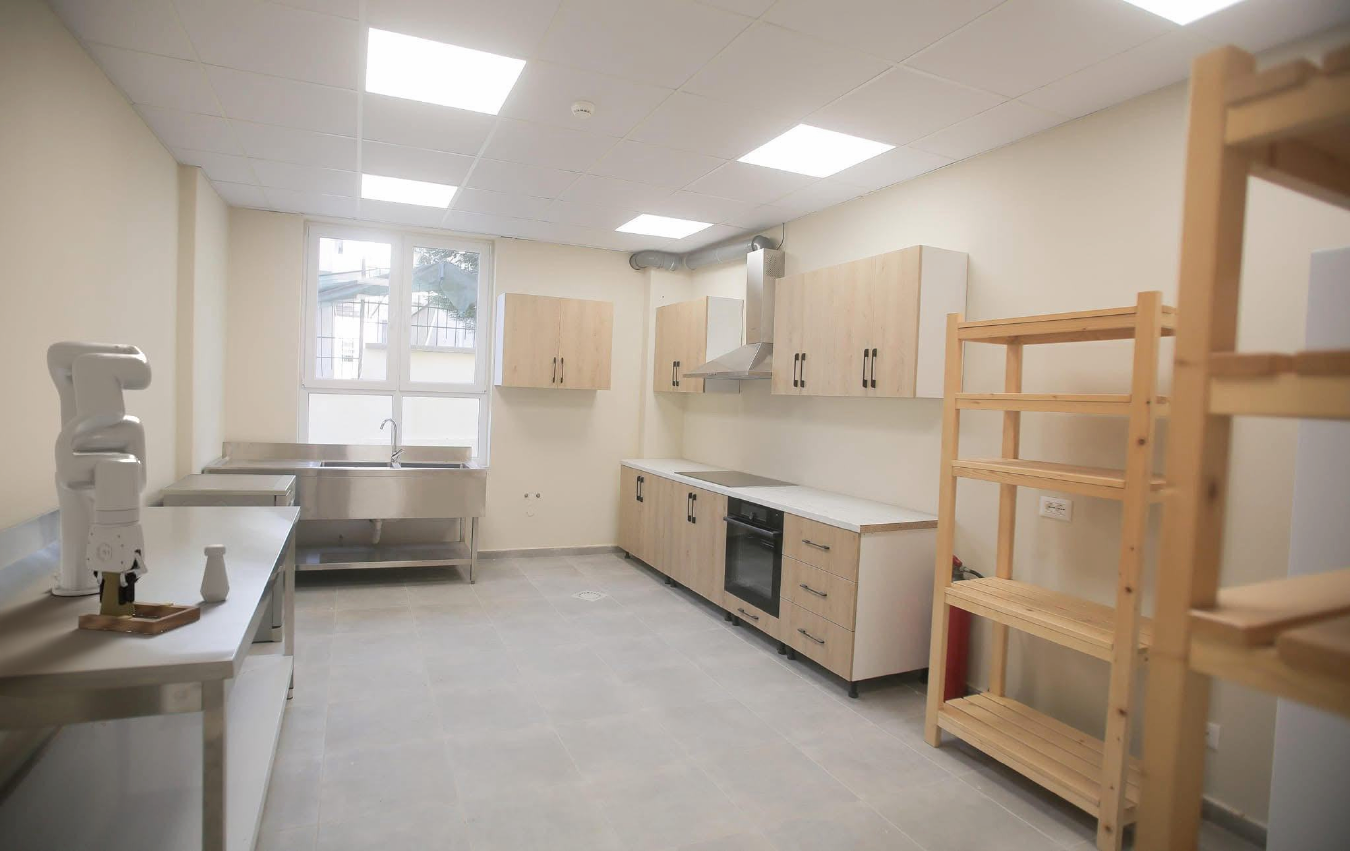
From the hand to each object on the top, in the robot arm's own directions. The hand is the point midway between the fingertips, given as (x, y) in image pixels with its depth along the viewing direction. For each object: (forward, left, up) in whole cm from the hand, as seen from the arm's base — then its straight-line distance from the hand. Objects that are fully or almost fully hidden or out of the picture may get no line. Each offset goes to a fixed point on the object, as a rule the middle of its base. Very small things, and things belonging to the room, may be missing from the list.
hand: (117, 601), depth 151 cm
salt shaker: (+7, +18, -4) cm, 20 cm away
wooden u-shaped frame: (+6, 0, -4) cm, 7 cm away
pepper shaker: (0, 0, -3) cm, 3 cm away
